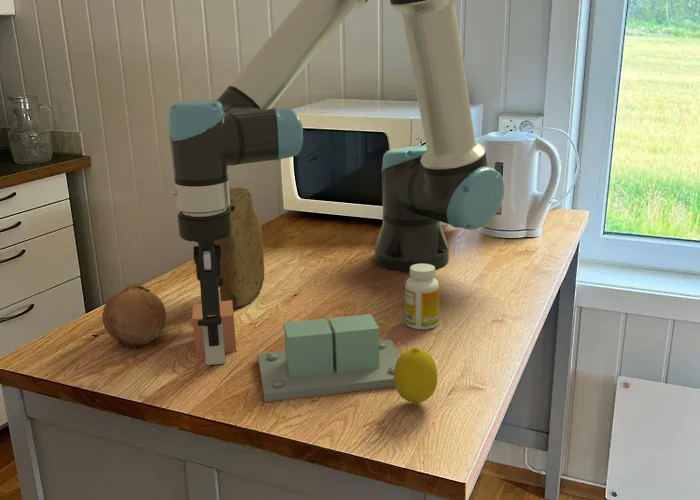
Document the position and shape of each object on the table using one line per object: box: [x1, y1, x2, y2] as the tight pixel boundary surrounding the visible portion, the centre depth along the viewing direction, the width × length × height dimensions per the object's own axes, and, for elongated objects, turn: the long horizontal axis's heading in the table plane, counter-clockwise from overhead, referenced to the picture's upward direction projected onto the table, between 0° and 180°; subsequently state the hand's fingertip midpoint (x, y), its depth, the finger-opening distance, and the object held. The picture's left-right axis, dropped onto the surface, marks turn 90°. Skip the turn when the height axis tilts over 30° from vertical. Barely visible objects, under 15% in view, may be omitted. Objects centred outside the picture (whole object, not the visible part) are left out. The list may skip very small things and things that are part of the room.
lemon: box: [394, 346, 438, 406], centre depth 90 cm, size 6×6×8 cm
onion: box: [101, 283, 167, 349], centre depth 110 cm, size 10×9×10 cm
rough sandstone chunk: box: [215, 186, 265, 309], centre depth 124 cm, size 11×8×20 cm
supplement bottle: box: [404, 263, 440, 330], centre depth 114 cm, size 5×5×10 cm
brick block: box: [192, 300, 237, 356], centre depth 109 cm, size 6×6×6 cm
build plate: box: [257, 313, 401, 403], centre depth 99 cm, size 20×12×7 cm, turn 101°
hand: (215, 343), depth 110 cm, fingers open, 13 cm apart
